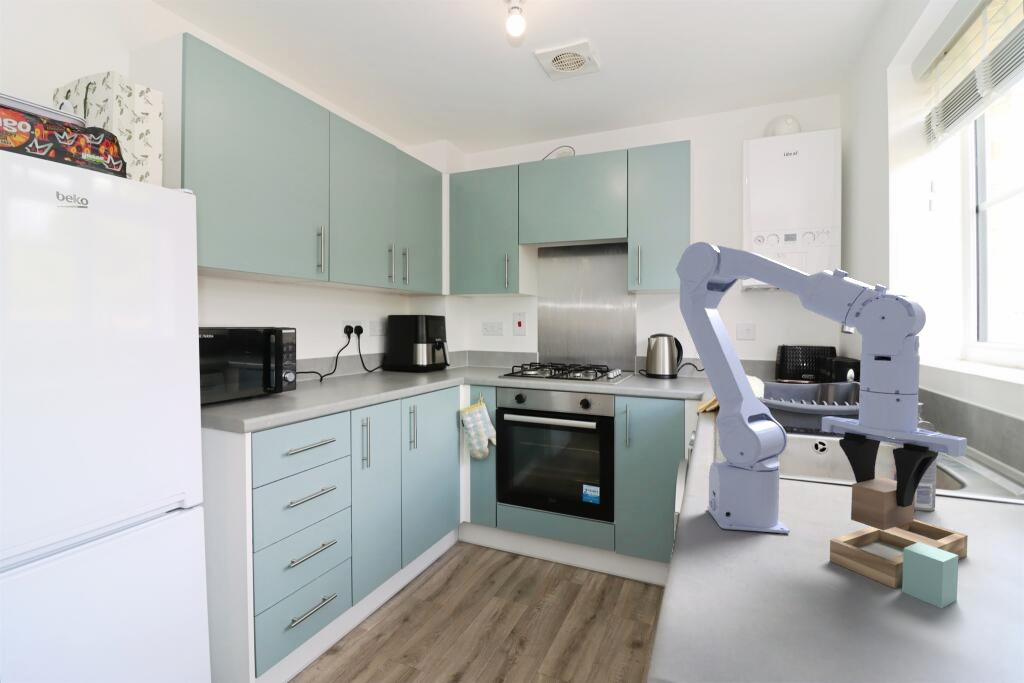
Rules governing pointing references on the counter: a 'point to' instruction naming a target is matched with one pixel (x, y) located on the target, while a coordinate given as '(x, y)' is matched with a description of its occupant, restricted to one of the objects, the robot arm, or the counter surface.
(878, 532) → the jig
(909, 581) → the block
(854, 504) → the tan cardboard box
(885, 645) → the counter surface
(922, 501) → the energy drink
